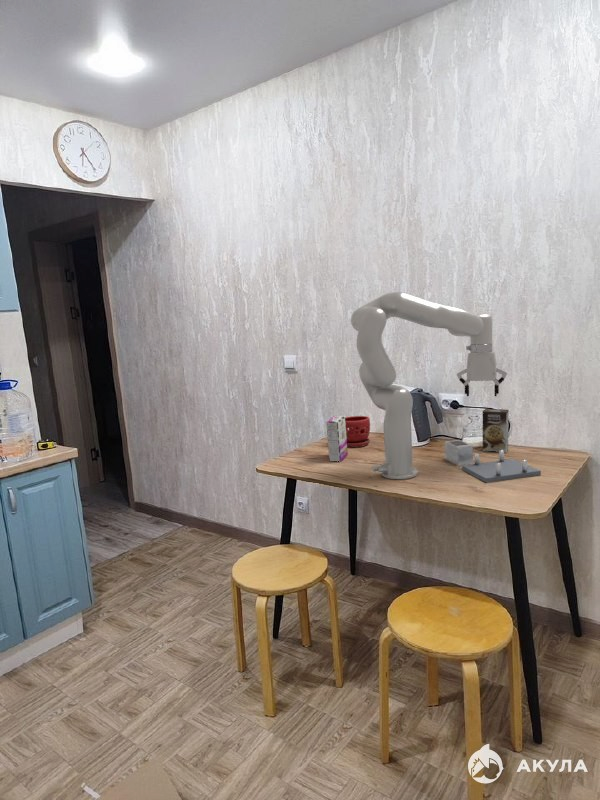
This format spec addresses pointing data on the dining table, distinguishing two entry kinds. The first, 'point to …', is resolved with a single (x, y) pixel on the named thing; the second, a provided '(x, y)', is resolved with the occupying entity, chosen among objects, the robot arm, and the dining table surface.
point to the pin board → (508, 470)
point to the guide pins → (498, 465)
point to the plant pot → (357, 431)
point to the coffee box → (495, 430)
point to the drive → (459, 452)
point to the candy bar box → (337, 438)
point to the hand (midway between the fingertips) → (481, 395)
